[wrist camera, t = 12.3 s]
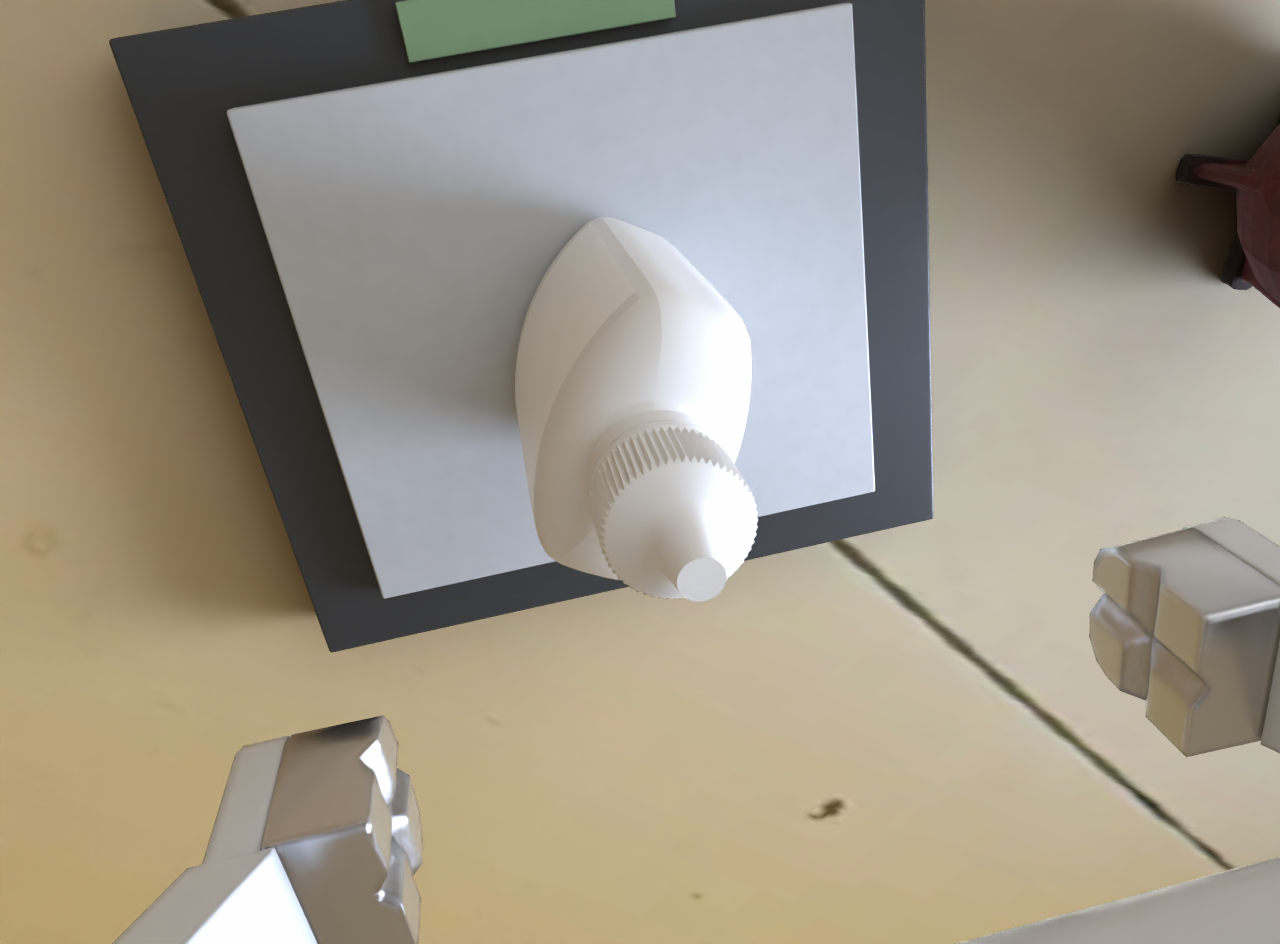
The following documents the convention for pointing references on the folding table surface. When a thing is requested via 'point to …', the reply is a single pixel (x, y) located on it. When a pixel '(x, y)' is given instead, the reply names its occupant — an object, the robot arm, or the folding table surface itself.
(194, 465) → the folding table surface
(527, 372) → the eye dropper bottle
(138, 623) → the folding table surface
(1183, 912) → the robot arm
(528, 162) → the scale
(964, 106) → the folding table surface
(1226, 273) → the mate gourd
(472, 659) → the folding table surface
